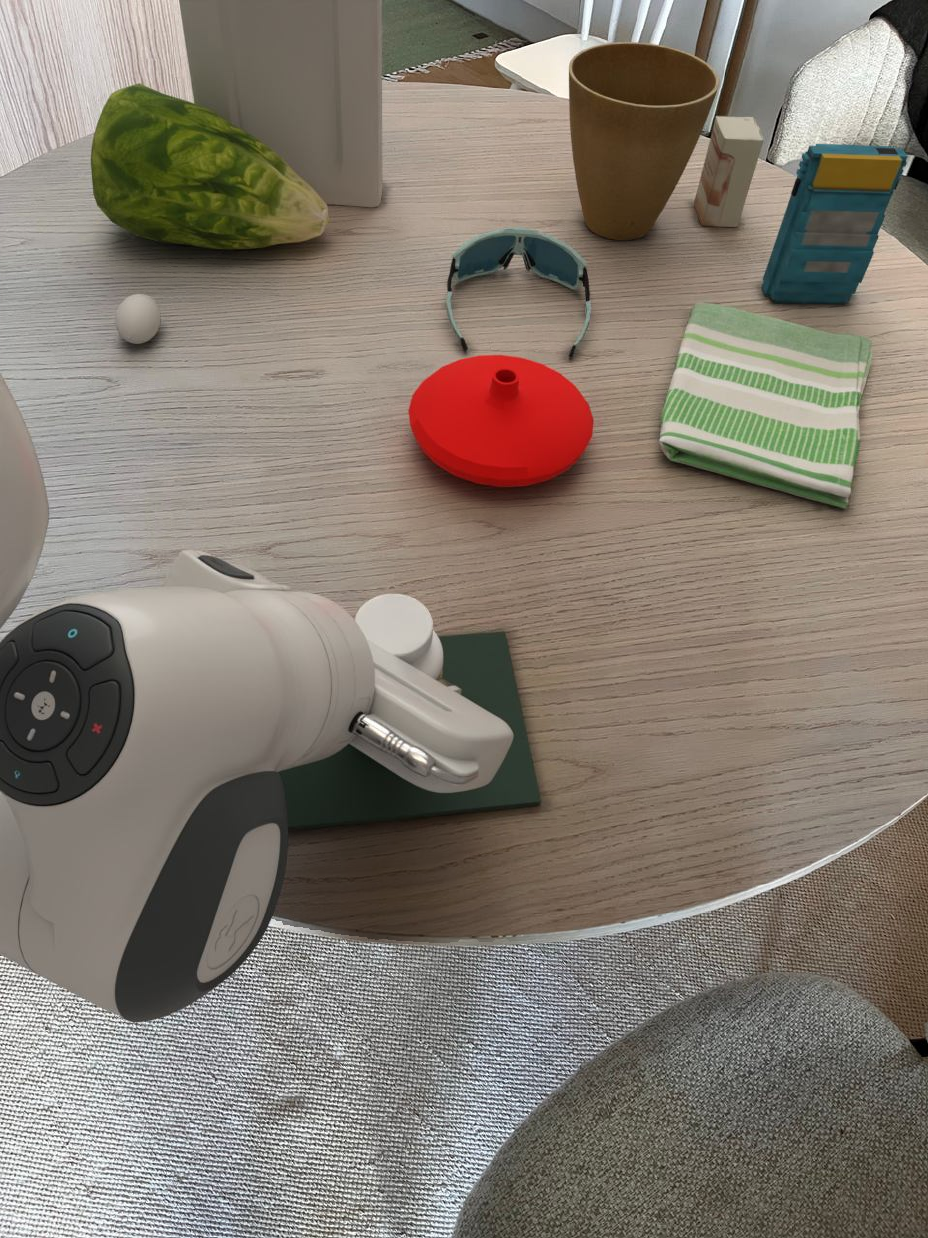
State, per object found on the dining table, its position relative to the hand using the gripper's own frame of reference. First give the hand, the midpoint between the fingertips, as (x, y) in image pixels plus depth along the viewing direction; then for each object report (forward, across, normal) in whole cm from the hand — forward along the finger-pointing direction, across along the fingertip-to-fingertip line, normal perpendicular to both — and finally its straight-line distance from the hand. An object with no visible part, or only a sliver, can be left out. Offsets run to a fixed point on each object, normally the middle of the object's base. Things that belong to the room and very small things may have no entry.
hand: (398, 665), depth 62 cm
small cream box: (+58, +12, -49) cm, 77 cm away
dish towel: (+38, -7, -29) cm, 49 cm away
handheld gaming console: (+52, -3, -43) cm, 68 cm away
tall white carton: (+42, +54, -33) cm, 76 cm away
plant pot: (+52, +20, -43) cm, 70 cm away
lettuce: (+31, +51, -22) cm, 63 cm away
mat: (+4, 0, +5) cm, 7 cm away
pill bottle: (+4, 0, +5) cm, 6 cm away
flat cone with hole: (+25, +10, -15) cm, 31 cm away
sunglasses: (+37, +19, -28) cm, 50 cm away
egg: (+19, +44, -9) cm, 49 cm away
